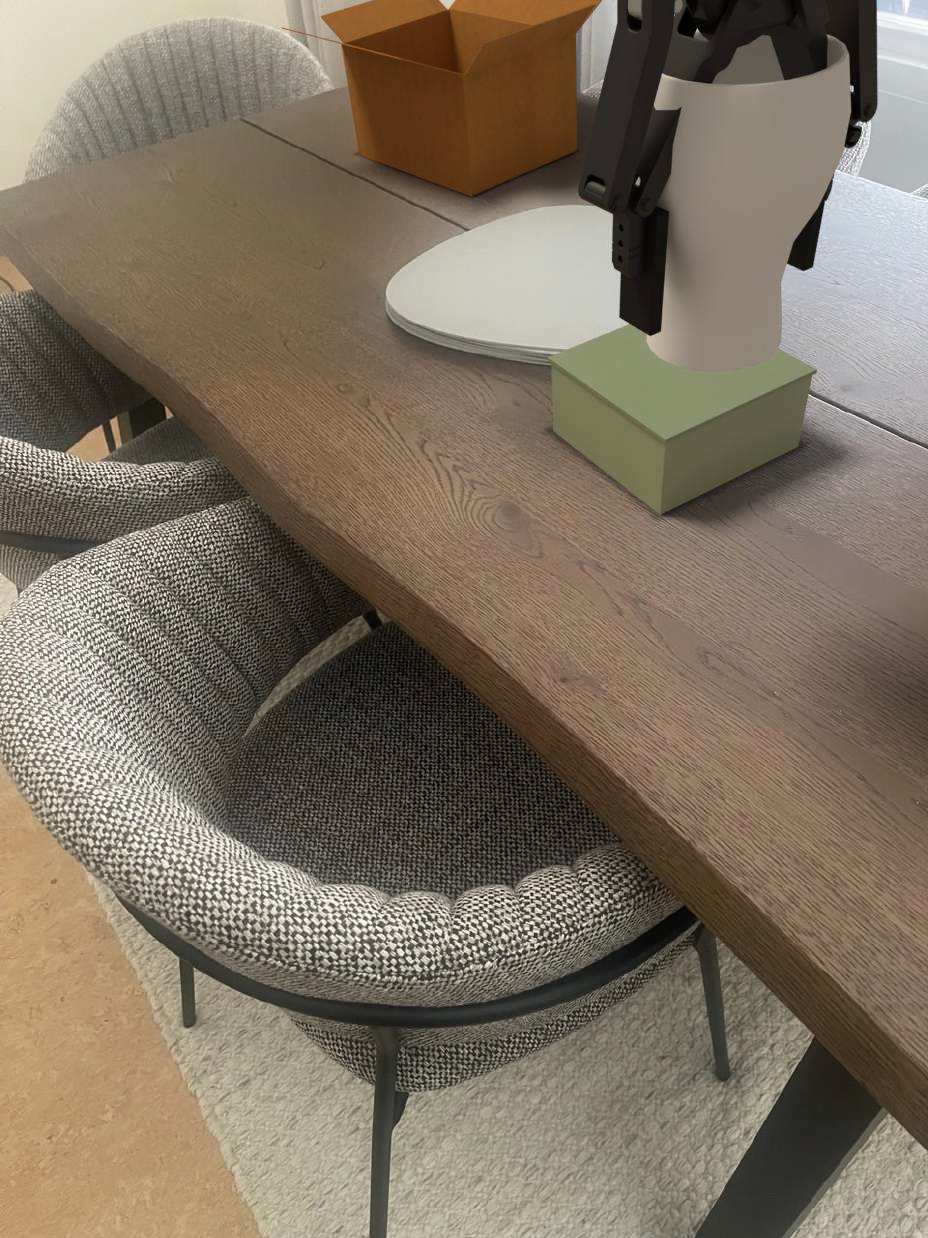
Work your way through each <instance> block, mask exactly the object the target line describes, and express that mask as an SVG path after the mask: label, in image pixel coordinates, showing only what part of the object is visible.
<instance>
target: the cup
mask: <svg viewBox="0 0 928 1238" xmlns="http://www.w3.org/2000/svg"><path fill="white" fill-rule="evenodd" d="M827 37H828V48H827V69H824V70H822V71H819V72H817V73H814V74H811V75H807V76H803V77H799V78H795V79H790V80H784V77H783V74H782V71H781V68H780V65H779V62H778V59H777V56H776V53H775V50H774V47H773V43H772V40H771V38H770V36H767V35H762V36H760V37H759V38H757V39H756V40H754V41H753V42H751V43H750V44H748V45H745V46H742V47H738V48H737V50H736V52H735V54H734V56H733V58H732V61H731V62H730V64H729V66H728V67H727V68H726V69H725V70H723V71H721V72H719V73H718V74H717V75H716V77H715V79H714V81H713V83H712V84H707V83H699V82H692V81H685V80H681V79H677V78H674V77H670V76H666V75H664V74H662V76H661V80H660V84H659V88H658V91H657V95H656V99H655V102H654V107H655V109H656V110H677V109H679V108H680V107H681V106H682V108H681V112H680V117H679V121H678V125H677V130H676V134H675V139H674V143H673V153H672V169H671V175H670V177H669V179H668V181H667V183H666V185H665V188H664V190H663V192H662V194H661V196H660V199H659V201H658V203H657V205H656V206H658V207H661V208H663V209H665V210H667V211H669V222H668V237H667V252H666V267H665V282H664V297H663V312H662V326H661V332H659V333H657V334H655V335H652V336H649V335H647V343H648V345H649V348H650V350H651V351H652V352H653V353H655V354H656V355H657V356H658V357H659V358H660V359H662V360H664V361H666V362H668V363H670V364H672V365H675V366H679V367H682V368H685V369H689V370H696V371H703V372H726V371H734V370H741V369H745V368H748V367H751V366H755V365H758V364H759V363H761V362H763V361H765V360H767V359H769V358H770V357H771V356H772V355H773V354H774V353H775V352H776V351H777V350H778V348H779V347H780V346H781V343H782V335H783V334H782V331H783V329H782V328H783V302H782V299H783V298H782V281H783V278H784V275H785V271H786V267H787V265H788V264H787V261H788V258H789V255H790V252H791V248H792V245H793V242H794V240H795V239H796V238H797V236H798V235H799V233H800V232H801V231H802V229H803V228H804V226H805V225H806V224H807V222H808V221H809V219H810V218H811V217H812V215H813V214H814V212H815V211H816V210H817V208H818V206H819V204H820V202H821V200H822V198H823V196H824V194H825V192H826V189H827V187H828V185H829V183H830V181H831V179H832V177H833V175H834V176H835V174H834V173H836V170H837V169H838V166H839V164H840V162H841V159H842V157H843V154H844V149H845V147H844V144H845V139H846V134H847V129H848V124H849V119H850V114H851V97H850V91H851V86H850V67H849V53H848V51H847V48H846V46H845V44H844V43H842V42H841V41H839V40H838V39H837V38H835V37H832V36H830V35H827ZM694 38H695V39H698V40H702V41H709V40H707V39H706V38H704V37H703V36H702V35H701V34H700V32H699V31H698V30H696V33H695V35H694ZM639 184H640V178H639V177H638V179H637V182H636V185H638V186H639ZM779 349H780V348H779Z"/></svg>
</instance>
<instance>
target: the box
mask: <svg viewBox="0 0 928 1238" xmlns="http://www.w3.org/2000/svg"><path fill="white" fill-rule="evenodd" d="M602 1H603V0H454V1H453V2H452V3H451V5H450V6H449V8H447V7H446V6H445V5H444V4H443V3H442V1H440V0H368V1H365V2H363V3H362V2H361V3H359V4H356V5H351V6H348V7H346V8H342V9H339V10H336V11H333V12H329V13H326V14H323V15H320V18H321V20H323V22H324V23H325V24H326V25H327V26H328V27H329V29H330V30H331V31H332V32H333V33H334V34H335V35H336V37H337V38H339V40H340V41H341V42H340V41H336V40H332V39H328V38H325V37H321V36H318V35H313V34H310V33H306V32H302V31H298V30H294V29H290V28H286V27H281V29H282V30H285V31H289V32H293V33H298V34H301V35H304V36H309V37H313V38H316V39H319V40H324V41H328V42H332V43H335V44H340V45H341V46H340V47H341V52H342V58H343V64H344V70H345V76H346V83H347V88H348V89H347V90H348V94H349V102H350V107H351V113H352V119H353V125H354V131H355V136H356V142H357V149H358V150H357V151H358V152H359V155H360V156H361V157H364V158H366V159H369V160H372V161H375V162H377V163H381V164H383V165H385V166H389V167H391V168H393V169H396V170H399V171H401V172H405V173H407V174H409V175H410V174H411V175H413V176H415V177H418V178H420V179H424V180H425V181H428V182H431V183H433V184H437V185H439V186H442V187H444V188H447V189H449V190H452V191H455V192H458V193H461V194H463V195H465V196H469V197H474V196H476V195H479V194H481V193H484V192H486V191H488V190H490V189H493V188H495V187H497V186H499V185H501V184H504V183H506V182H509V181H511V180H513V179H516V178H518V177H520V176H523V175H524V174H525V175H526V174H527V173H530V172H532V171H534V170H536V169H538V168H540V167H543V166H545V165H548V164H549V163H553V162H555V161H557V160H559V159H561V158H563V157H566V156H568V155H570V154H573V153H575V152H577V149H578V79H577V78H578V77H577V76H578V73H577V71H578V69H577V66H578V65H577V64H578V63H577V62H578V61H577V59H578V58H577V55H578V54H577V52H578V51H577V49H578V48H577V33H579V30H580V29H581V28H582V27H583V25H584V24H585V23H586V22H587V20H588V19H589V18H590V17H591V15H592V14H593V13H594V11H596V9H597V8H598V7H599V6H600V4H601V3H602Z"/></svg>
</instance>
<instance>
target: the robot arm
mask: <svg viewBox="0 0 928 1238" xmlns="http://www.w3.org/2000/svg"><path fill="white" fill-rule="evenodd" d="M696 31H699V32H700V34H701V35H702V36H703V37H704V38H706V39H707V40H709V41H702V40H698V39H695V38H694V35H695V33H696ZM762 35H767V36H770V38H771V40H772V43H773V47H774V50H775V53H776V56H777V59H778V62H779V65H780V68H781V71H782V74H783V77H784V80H790V79H795V78H799V77H803V76H807V75H811V74H814V73H817V72H819V71H822V70H824V69H827V48H828V37H827V35H830V36H832V37H835V38H837V39H838V40H839V41H841V42H842V43H844V44H845V46H846V48H847V51H848V53H849V67H850V87H852V90H853V91H851V90H850V97H851V114H850V119H849V124H848V129H847V134H846V139H845V144H844V148H846V149H849V150H850V149H852V148H854V147H855V146H856V145H857V144H858V143H859V141H860V139H861V137H862V133H863V127H862V126H860V125H857V123H859V122H860V123H864V124H865V123H868V122H870V121H871V120H872V119H873V118H874V116H875V115H876V112H877V110H878V104H879V103H878V102H879V101H878V100H879V99H878V97H879V95H878V94H879V93H878V89H879V88H878V0H617V1H616V25H615V31H614V34H613V38H612V43H611V47H610V52H609V54H608V55H609V56H608V60H607V64H606V69H605V73H604V77H603V81H602V85H601V90H600V94H599V98H598V102H597V107H596V111H595V114H594V119H593V123H592V127H591V131H590V136H589V140H588V145H587V148H586V153H585V157H584V161H583V166H582V170H581V174H580V178H579V182H578V187H577V193H578V196H579V198H580V199H581V200H583V201H585V202H587V203H589V204H591V205H593V206H594V207H595V206H596V207H597V208H598V209H601V210H603V211H605V212H607V213H609V214H611V215H612V228H611V230H612V231H611V232H612V234H611V241H612V243H611V250H612V251H611V263H612V266H613V269H614V270H615V271H617V272H618V273H620V275H619V276H620V280H619V281H620V282H619V309H618V318H619V319H620V320H622V321H624V322H625V323H627V324H631V325H632V326H634V327H636V328H637V329H639V330H641V331H642V332H644V333H646V334H647V335H649V336H652V335H655V334H657V333H659V332H661V326H662V312H663V297H664V282H665V267H666V252H667V237H668V222H669V211H667V210H665V209H663V208H661V207H658V206H656V205H657V203H658V201H659V199H660V196H661V194H662V192H663V190H664V188H665V185H666V183H667V181H668V179H669V177H670V175H671V169H672V153H673V143H674V139H675V134H676V130H677V125H678V121H679V117H680V112H681V108H682V106H681V107H680V108H679V109H677V110H656V109H655V107H654V102H655V99H656V95H657V91H658V88H659V84H660V80H661V76H662V74H664V75H666V76H670V77H674V78H677V79H681V80H685V81H692V82H699V83H707V84H712V83H713V81H714V79H715V77H716V75H717V74H718V73H719V72H721V71H723V70H725V69H726V68H727V67H728V66H729V64H730V62H731V61H732V58H733V56H734V54H735V52H736V50H737V48H738V47H742V46H745V45H748V44H750V43H751V42H753V41H754V40H756V39H757V38H759V37H760V36H762ZM835 173H836V172H835ZM835 173H834V175H833V177H832V179H831V181H830V183H829V185H828V187H827V189H826V192H825V194H824V196H823V198H822V200H821V202H820V204H819V206H818V208H817V210H816V211H815V212H814V214H813V215H812V217H811V218H810V219H809V221H808V222H807V224H806V225H805V226H804V228H803V229H802V231H801V232H800V233H799V235H798V236H797V238H796V239H795V240H794V242H793V245H792V248H791V252H790V255H789V258H788V261H787V265H789V266H791V267H793V268H795V269H797V270H799V271H801V272H805V271H808V270H810V269H813V268H814V265H815V259H816V254H817V248H818V243H819V238H820V232H821V225H822V220H823V216H824V210H825V205H826V202H827V201H828V199H829V198H830V197H829V196H830V195H831V193H832V189H833V185H834V179H835ZM638 177H639V178H640V184H639V186H638V185H636V182H637V179H638Z"/></svg>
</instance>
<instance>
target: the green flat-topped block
mask: <svg viewBox="0 0 928 1238" xmlns="http://www.w3.org/2000/svg"><path fill="white" fill-rule="evenodd" d="M547 361H548V362H549V363H550V365H551V395H552V397H551V399H552V400H551V402H552V432H553V433H554V434H556V435H557V436H558V437H560V438H561V439H562V440H564V441H565V442H566V443H568V445H570V446H572V447H573V448H574V449H575V450H577V451H578V452H579V453H580V454H582V456H584V457H585V458H586V459H588V460H590V462H592V463H593V464H594V465H596V466H597V468H599V469H601V470H602V471H603V472H605V473H606V474H607V475H608V476H610V477H611V478H612V479H613V480H614V481H616V482H618V483H619V485H621V486H622V487H624V488H625V489H627V490H628V491H629V492H630V493H632V495H634V496H635V497H637V498H638V499H639V500H641V501H642V502H643V503H644V504H645V505H646V506H648V507H649V508H651V509H652V510H653V511H655V512H656V513H657V514H659V515H660V516H661V515H663V514H665V513H667V512H669V511H671V510H673V509H675V508H678V507H679V506H681V505H683V504H685V503H688V502H690V501H691V500H694V499H695V498H698V497H700V496H701V495H703V494H706V493H708V492H710V491H711V490H714V489H716V488H717V487H720V486H721V485H724V484H726V483H729V482H730V481H732V480H734V479H736V478H738V477H740V476H742V475H744V474H746V473H748V472H750V471H752V470H754V469H757V468H758V467H760V466H762V465H764V464H766V463H768V462H770V461H772V460H775V459H777V458H778V457H780V456H782V455H785V454H786V453H789V452H790V451H792V450H794V449H796V448H798V447H799V445H800V440H801V436H802V435H801V434H802V430H803V425H804V421H805V420H804V419H805V414H806V409H807V404H808V399H809V395H810V389H811V385H812V379H813V376H814V375H816V374H817V372H818V368H816V367H814V366H812V365H810V364H808V363H806V362H805V361H803V360H801V359H799V358H797V357H795V356H793V355H792V354H790V353H788V352H786V351H784V350H782V349H781V348H778V350H777V351H776V352H775V353H774V354H773V355H772V356H771V357H770V358H769V359H767V360H765V361H763V362H761V363H759V364H758V365H755V366H751V367H748V368H745V369H741V370H734V371H726V372H703V371H696V370H689V369H685V368H682V367H679V366H675V365H672V364H670V363H668V362H666V361H664V360H662V359H660V358H659V357H658V356H657V355H656V354H655V353H653V352H652V351H651V350H650V348H649V345H648V343H647V334H646V333H644V332H642V331H641V330H639V329H637V328H636V327H634V326H632V325H631V324H629V323H627V324H625V325H624V326H621V327H619V328H616V329H614V330H612V331H611V330H610V331H609V332H606V333H603V334H602V335H599V336H597V337H594V338H591V339H589V340H587V341H585V342H582V343H580V344H577V345H575V346H572V347H569V348H568V349H564V350H562V351H560V352H557V353H555V354H552V355H551V356H548V357H547Z"/></svg>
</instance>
